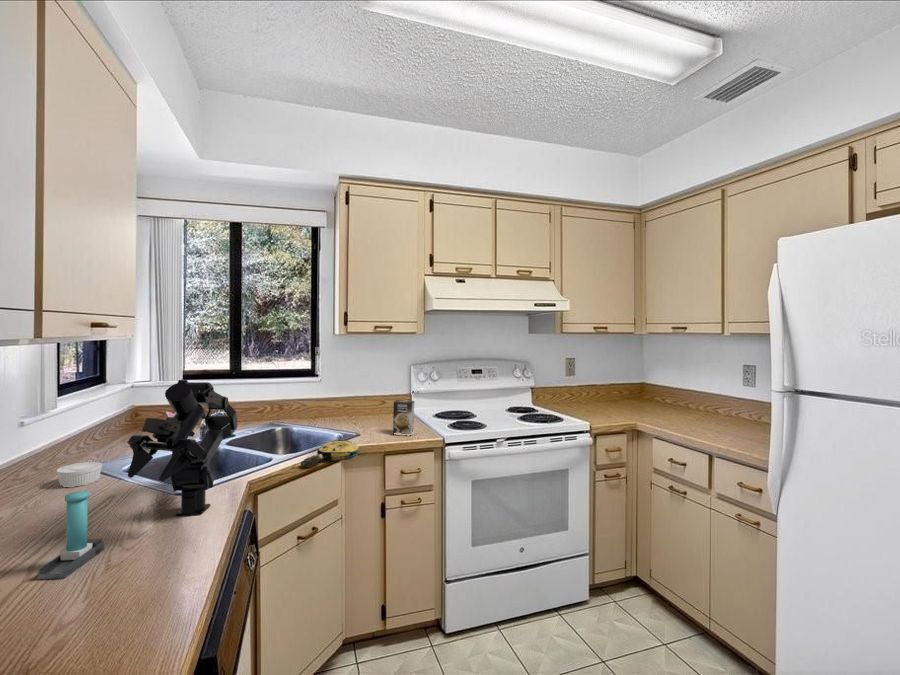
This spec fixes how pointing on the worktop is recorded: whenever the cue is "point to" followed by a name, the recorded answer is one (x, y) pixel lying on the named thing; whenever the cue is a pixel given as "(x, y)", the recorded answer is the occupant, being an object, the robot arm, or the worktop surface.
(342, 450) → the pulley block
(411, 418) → the coffee box
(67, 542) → the teal tall cylinder
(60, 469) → the ramekin
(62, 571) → the track
